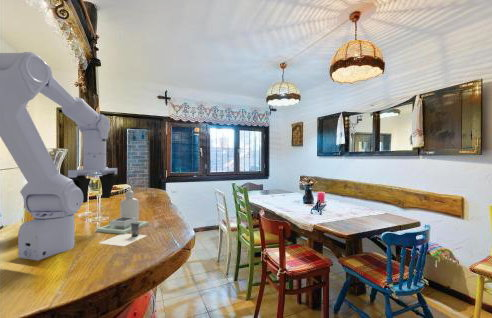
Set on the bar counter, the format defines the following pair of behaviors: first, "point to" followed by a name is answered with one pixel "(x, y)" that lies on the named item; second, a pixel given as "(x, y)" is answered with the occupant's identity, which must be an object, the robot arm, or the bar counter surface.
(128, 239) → the board
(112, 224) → the grey square block
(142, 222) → the tray
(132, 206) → the eye dropper bottle
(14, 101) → the robot arm
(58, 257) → the bar counter surface
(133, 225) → the stake
